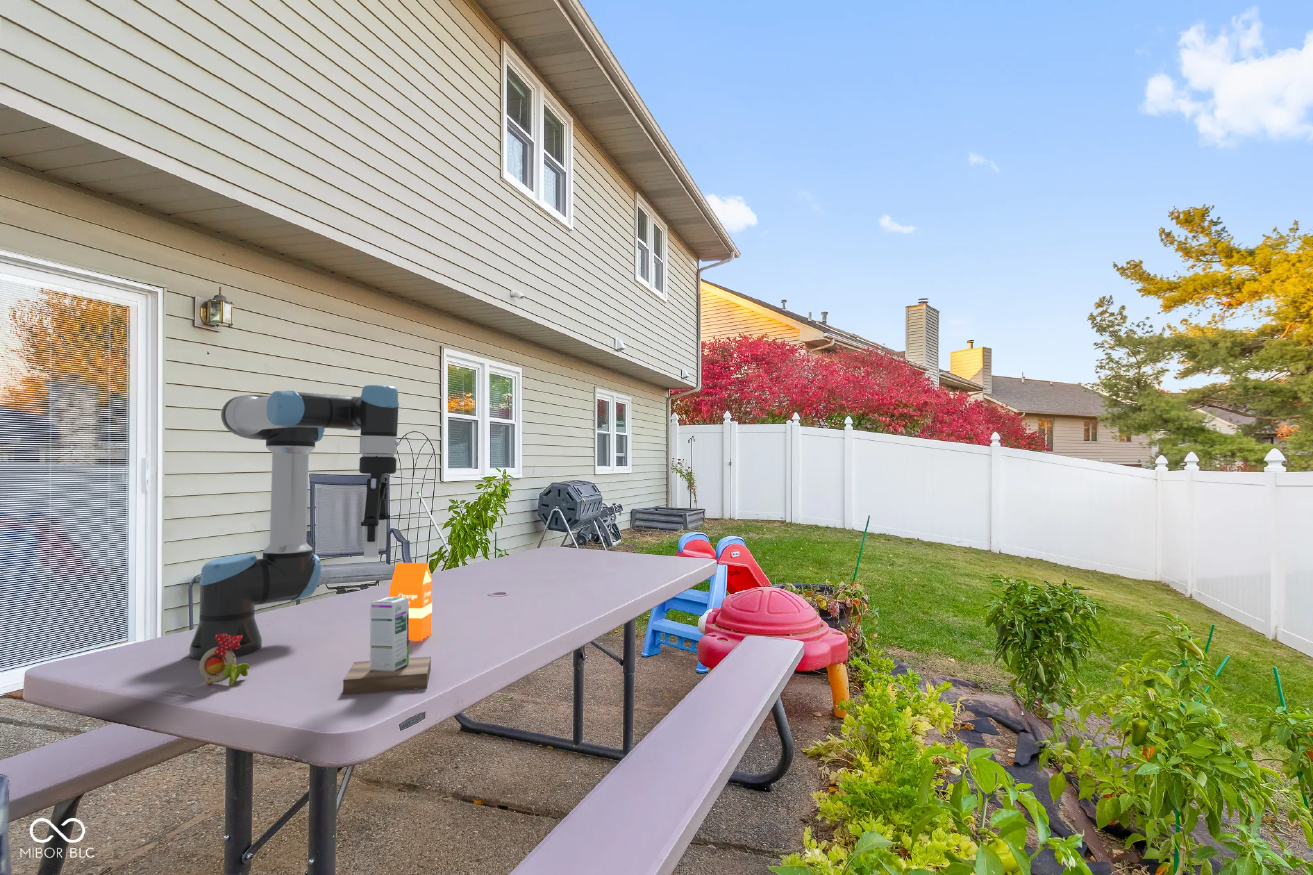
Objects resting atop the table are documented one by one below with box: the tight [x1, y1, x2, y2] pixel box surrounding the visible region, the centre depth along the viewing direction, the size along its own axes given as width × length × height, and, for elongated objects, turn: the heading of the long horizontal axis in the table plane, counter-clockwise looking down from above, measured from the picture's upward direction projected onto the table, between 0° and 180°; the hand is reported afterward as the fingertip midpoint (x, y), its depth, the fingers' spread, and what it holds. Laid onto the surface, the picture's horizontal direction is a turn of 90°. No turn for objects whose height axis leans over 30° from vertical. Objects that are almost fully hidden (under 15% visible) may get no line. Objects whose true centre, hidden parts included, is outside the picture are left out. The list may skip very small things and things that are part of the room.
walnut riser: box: [342, 656, 432, 696], centre depth 143 cm, size 13×16×3 cm
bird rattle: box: [199, 633, 251, 687], centre depth 142 cm, size 6×11×9 cm
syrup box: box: [369, 596, 410, 672], centre depth 143 cm, size 6×6×14 cm
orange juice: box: [389, 562, 433, 642], centre depth 181 cm, size 8×9×20 cm
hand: (375, 552), depth 146 cm, fingers open, 13 cm apart
